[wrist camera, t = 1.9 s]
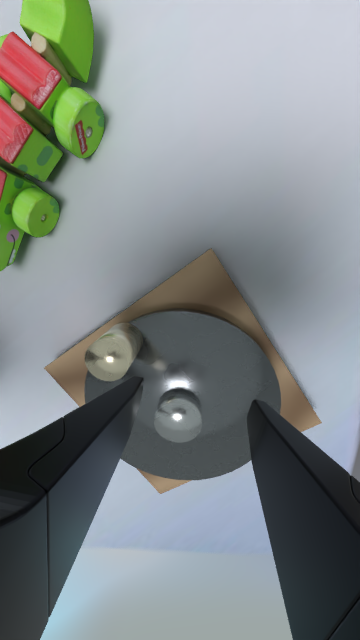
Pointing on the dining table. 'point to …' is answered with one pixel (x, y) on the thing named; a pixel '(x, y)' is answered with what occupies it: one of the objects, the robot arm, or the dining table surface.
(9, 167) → the toy crocodile
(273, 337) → the dining table surface
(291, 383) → the wheel base
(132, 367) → the handwheel
